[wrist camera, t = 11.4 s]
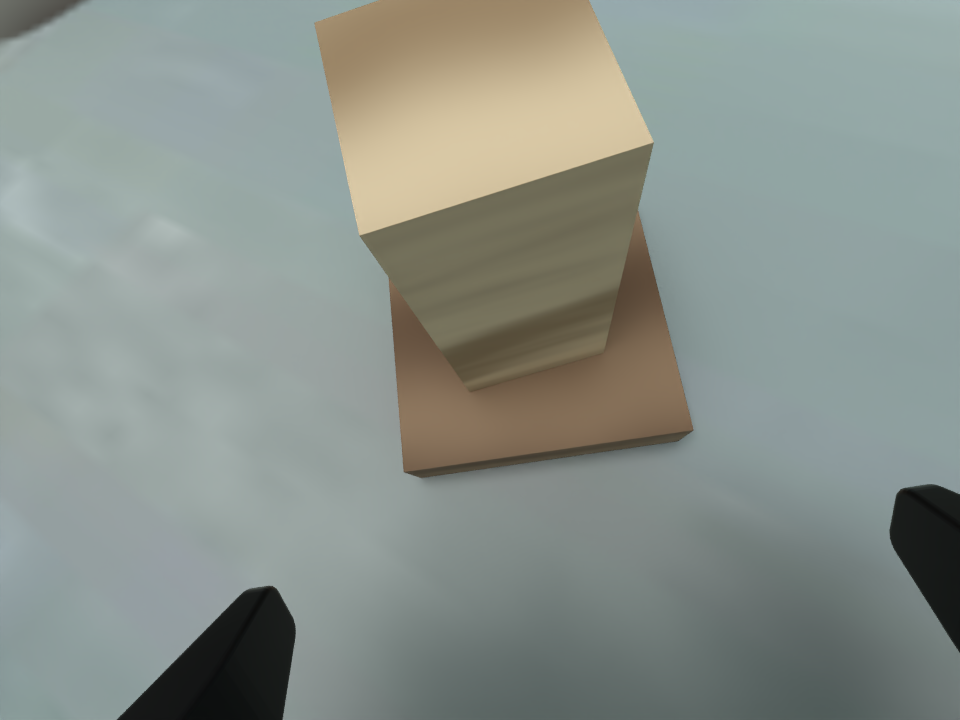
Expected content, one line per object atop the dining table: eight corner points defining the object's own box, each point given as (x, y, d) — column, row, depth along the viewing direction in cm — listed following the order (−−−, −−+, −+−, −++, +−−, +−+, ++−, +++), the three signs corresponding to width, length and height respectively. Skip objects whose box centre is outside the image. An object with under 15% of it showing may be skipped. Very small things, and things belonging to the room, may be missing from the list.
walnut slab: (675, 443, 20) (693, 430, 18) (424, 478, 22) (403, 472, 19) (621, 221, 24) (630, 179, 21) (404, 261, 25) (384, 227, 22)
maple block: (603, 352, 19) (653, 142, 8) (469, 392, 19) (359, 235, 9) (561, 235, 20) (560, -63, 10) (438, 273, 21) (314, 22, 10)
